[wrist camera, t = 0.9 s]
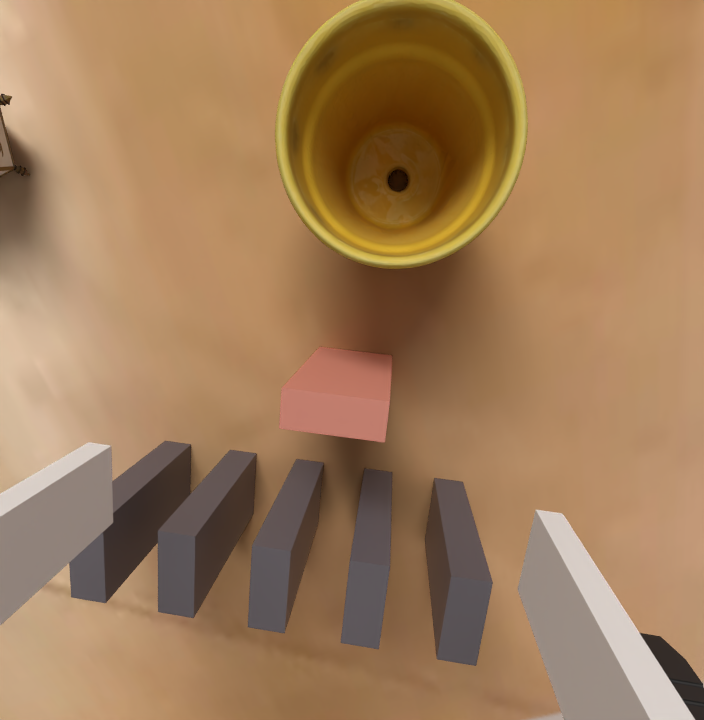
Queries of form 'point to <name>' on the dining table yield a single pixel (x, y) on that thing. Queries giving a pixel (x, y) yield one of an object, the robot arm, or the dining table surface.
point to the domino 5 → (369, 562)
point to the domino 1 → (133, 521)
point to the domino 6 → (456, 574)
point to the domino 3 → (284, 547)
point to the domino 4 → (339, 395)
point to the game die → (7, 146)
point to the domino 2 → (204, 534)
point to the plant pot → (401, 130)
